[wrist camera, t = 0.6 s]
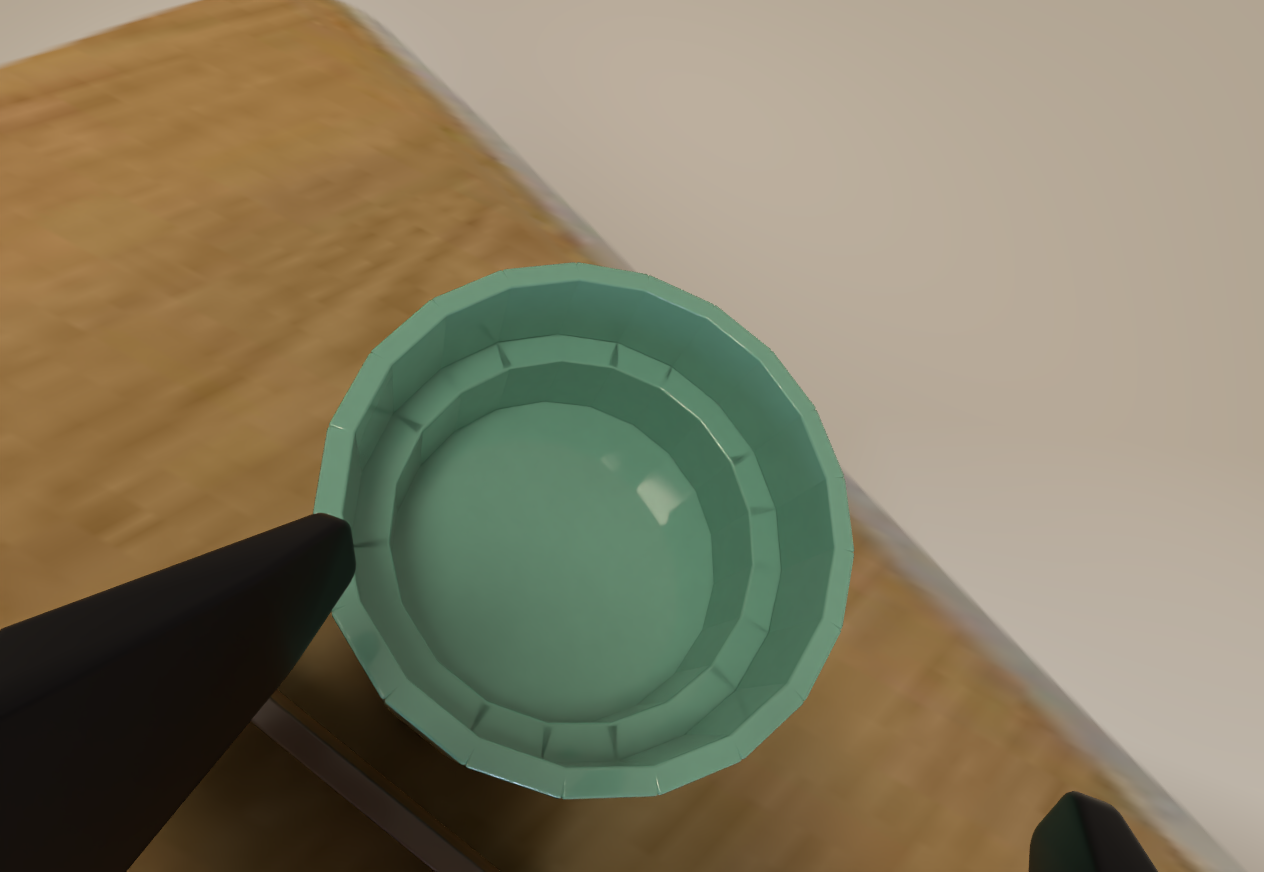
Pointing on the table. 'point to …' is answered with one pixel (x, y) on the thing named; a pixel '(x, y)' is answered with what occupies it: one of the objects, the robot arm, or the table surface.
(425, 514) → the teal wide round container
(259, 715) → the wooden box
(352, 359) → the table surface
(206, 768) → the robot arm
